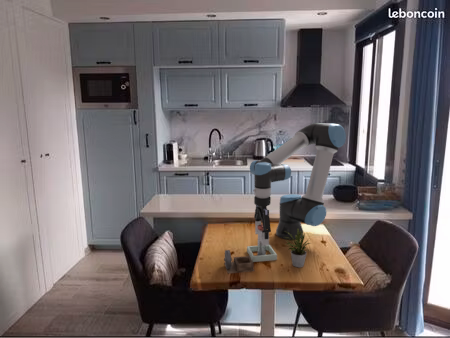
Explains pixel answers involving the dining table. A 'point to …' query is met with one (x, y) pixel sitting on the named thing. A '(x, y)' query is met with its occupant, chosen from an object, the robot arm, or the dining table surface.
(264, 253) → the pin
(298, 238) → the house plant
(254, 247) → the tray
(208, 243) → the dining table surface
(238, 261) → the block
